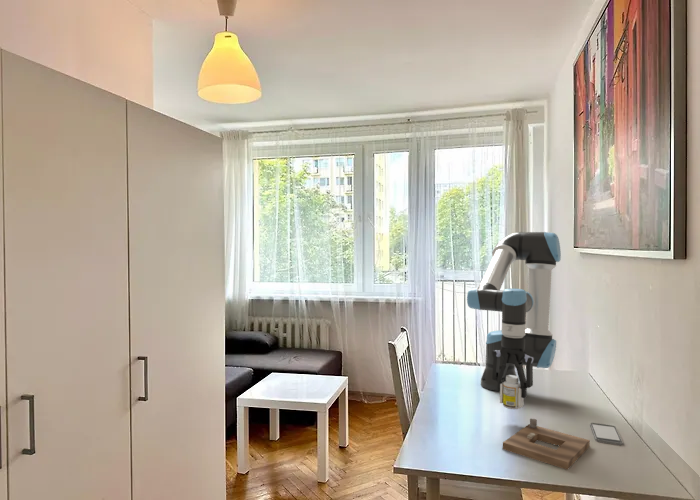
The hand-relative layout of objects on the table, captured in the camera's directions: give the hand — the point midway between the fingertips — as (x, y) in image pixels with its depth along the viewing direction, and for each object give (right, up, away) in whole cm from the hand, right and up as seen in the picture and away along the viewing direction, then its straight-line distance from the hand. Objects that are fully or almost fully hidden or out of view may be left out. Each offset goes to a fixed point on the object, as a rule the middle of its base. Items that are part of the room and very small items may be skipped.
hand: (511, 404), depth 162 cm
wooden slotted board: (+4, -6, -20) cm, 21 cm away
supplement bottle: (0, -1, 0) cm, 1 cm away
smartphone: (+27, -7, -9) cm, 29 cm away
